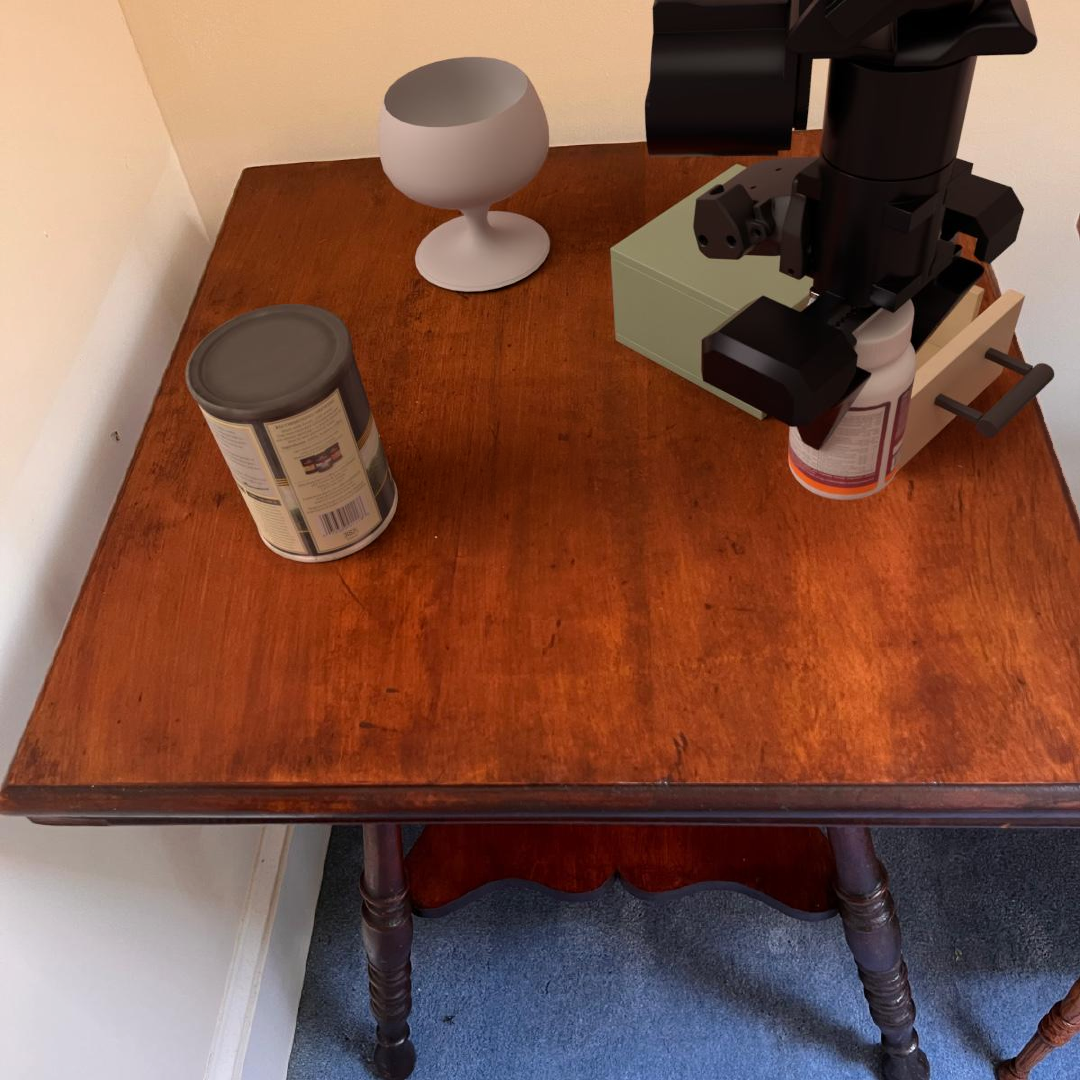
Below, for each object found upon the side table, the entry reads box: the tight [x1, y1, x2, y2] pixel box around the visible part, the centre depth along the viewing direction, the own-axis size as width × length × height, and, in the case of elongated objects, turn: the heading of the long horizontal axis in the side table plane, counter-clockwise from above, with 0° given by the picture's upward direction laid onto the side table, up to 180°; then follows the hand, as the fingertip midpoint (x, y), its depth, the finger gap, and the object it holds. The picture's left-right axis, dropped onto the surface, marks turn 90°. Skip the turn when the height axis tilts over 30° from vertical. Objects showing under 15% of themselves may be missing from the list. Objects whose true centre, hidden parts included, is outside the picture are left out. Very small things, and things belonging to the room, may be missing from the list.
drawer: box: [799, 284, 1055, 472], centre depth 72 cm, size 18×13×7 cm
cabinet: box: [609, 163, 813, 421], centre depth 79 cm, size 15×15×9 cm
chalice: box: [377, 56, 551, 292], centre depth 87 cm, size 14×14×15 cm
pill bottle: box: [787, 297, 916, 501], centre depth 55 cm, size 6×6×11 cm
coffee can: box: [184, 303, 399, 563], centre depth 69 cm, size 10×10×14 cm
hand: (847, 413), depth 57 cm, fingers closed on pill bottle, 6 cm apart
